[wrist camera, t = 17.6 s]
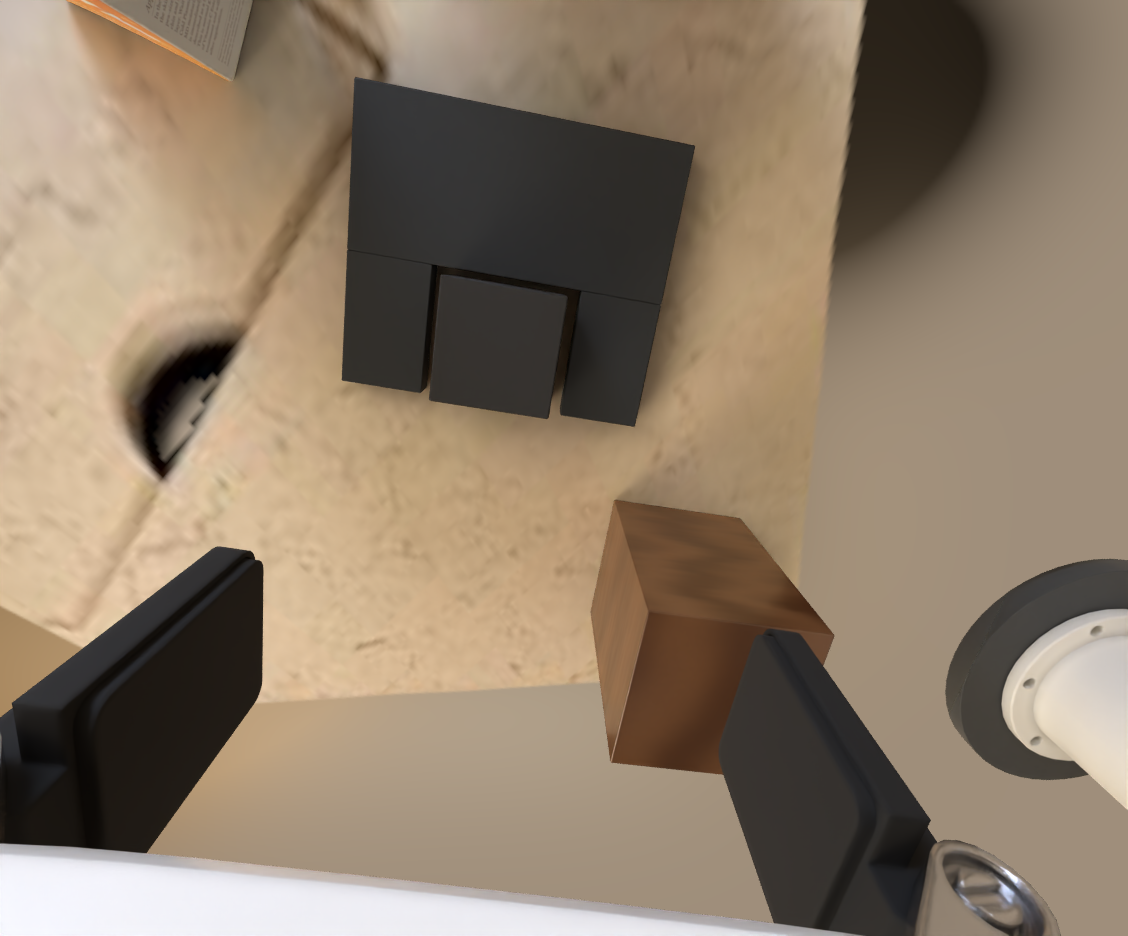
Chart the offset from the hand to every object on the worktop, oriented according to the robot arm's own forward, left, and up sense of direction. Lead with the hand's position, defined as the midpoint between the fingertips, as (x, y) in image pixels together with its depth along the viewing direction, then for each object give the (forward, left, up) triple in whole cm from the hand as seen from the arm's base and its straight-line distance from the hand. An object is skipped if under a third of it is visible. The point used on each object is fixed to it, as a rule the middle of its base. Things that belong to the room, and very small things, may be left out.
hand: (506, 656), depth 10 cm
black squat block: (+2, -3, -23) cm, 23 cm away
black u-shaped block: (+2, -7, -23) cm, 24 cm away
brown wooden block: (-10, +9, -23) cm, 26 cm away
